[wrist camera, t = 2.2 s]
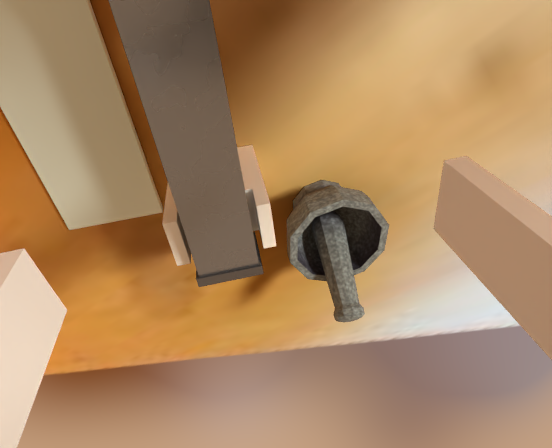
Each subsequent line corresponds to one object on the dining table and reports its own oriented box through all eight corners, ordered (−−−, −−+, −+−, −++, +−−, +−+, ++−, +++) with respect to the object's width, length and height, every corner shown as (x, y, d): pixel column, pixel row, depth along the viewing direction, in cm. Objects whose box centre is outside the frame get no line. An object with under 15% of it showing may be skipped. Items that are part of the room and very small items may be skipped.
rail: (55, -213, 16) (14, -264, 12) (170, -225, 16) (162, -277, 13) (198, 250, 31) (199, 287, 28) (256, 238, 32) (263, 273, 28)
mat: (-129, -139, 21) (-139, -142, 20) (34, -157, 22) (28, -161, 21) (71, 225, 36) (69, 230, 36) (163, 208, 37) (162, 212, 36)
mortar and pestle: (276, 168, 37) (304, 242, 27) (366, 159, 38) (423, 227, 28) (278, 255, 43) (301, 339, 34) (355, 245, 45) (398, 323, 35)
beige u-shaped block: (170, 159, 34) (162, 224, 26) (252, 144, 35) (270, 203, 26) (181, 195, 37) (177, 265, 28) (258, 181, 37) (276, 246, 29)
